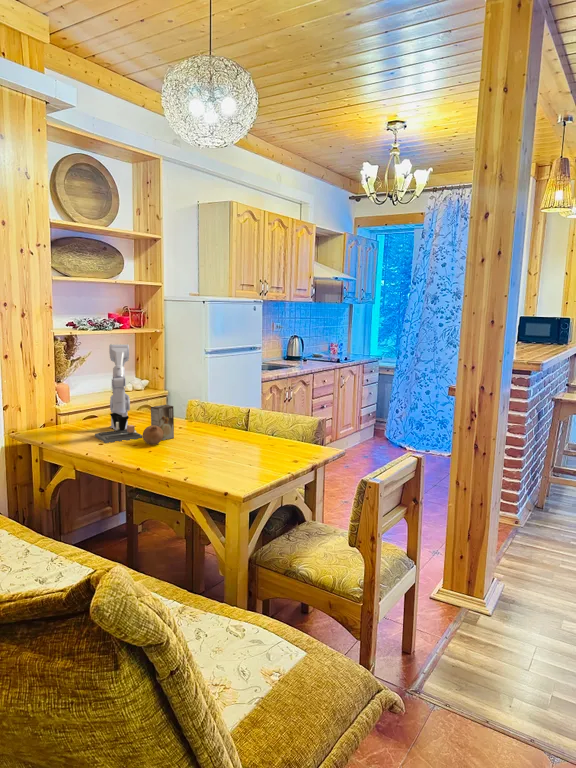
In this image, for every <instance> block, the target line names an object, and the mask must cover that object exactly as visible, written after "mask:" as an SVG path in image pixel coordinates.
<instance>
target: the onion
mask: <svg viewBox="0 0 576 768" xmlns="http://www.w3.org/2000/svg"><path fill="white" fill-rule="evenodd" d="M162 438H163V431H162V429H161V428H160V427H158V426H155V425H152V426H151V425H149V426H147V427H145V428H144V430H143V432H142V439H143V442H145V444H147V445H150V446H151V445H152V446H153V445H158V444H159V443H160V442H162V441H161V440H162Z"/></svg>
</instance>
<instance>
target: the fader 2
mask: <svg viewBox="0 0 576 768" xmlns="http://www.w3.org/2000/svg"><path fill="white" fill-rule="evenodd" d="M134 430H135V425H133V424H128V425H127V432H129V435H133V432H134Z"/></svg>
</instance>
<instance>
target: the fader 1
mask: <svg viewBox="0 0 576 768" xmlns="http://www.w3.org/2000/svg"><path fill="white" fill-rule="evenodd" d="M116 428H117V430H116V431H117V432H121V431H122V430H120V428H119V422H116Z"/></svg>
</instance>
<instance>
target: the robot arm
mask: <svg viewBox="0 0 576 768" xmlns="http://www.w3.org/2000/svg"><path fill="white" fill-rule="evenodd" d="M108 350H109V351H108V352H109V358H110V359H109V360H110V361H111V362H112V363H114V365H115V366H114V367H113V368H112V379H111V388H112V389H111V391H112V395H111V396H110V400H109V410H110V413H109V416H110V419H111V421H110V426H109V428H111V429H112V428H113V431H117V428H116V422H119V428H120V430H125V429H127V425H129V423H128V421H129V420H128V419H129V418H130V416H129V415H128V413H129V411H130V410H131V401H130V400H131V399H130V395H129V394H127V393H126V387H127V380H126V369H125V365H126V362H128V361H129V359H130V345H129V344H128V343H127V344H121V343H120V344H118V343H117V344H116V343H115V344H112V343H110V344H109V349H108Z"/></svg>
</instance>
